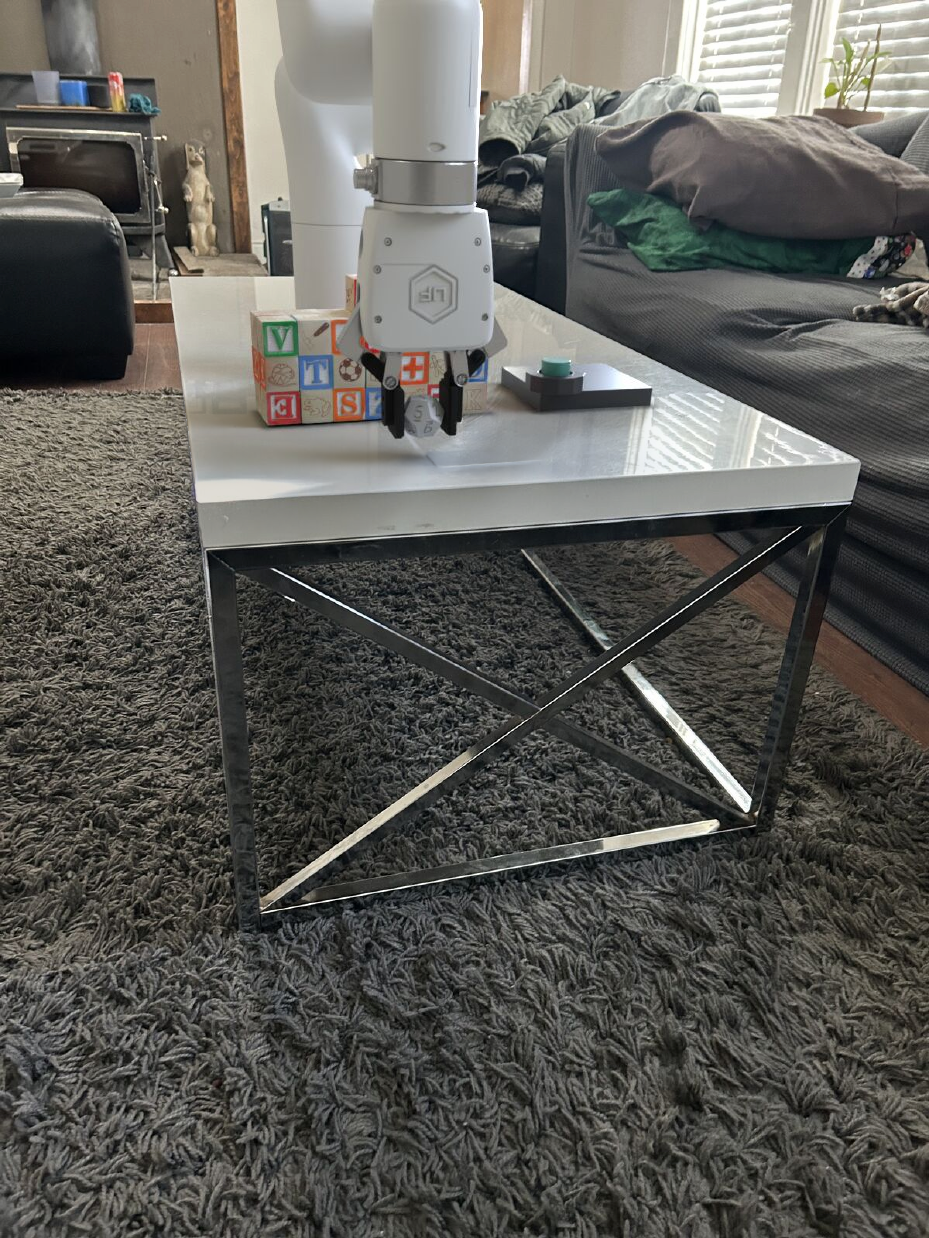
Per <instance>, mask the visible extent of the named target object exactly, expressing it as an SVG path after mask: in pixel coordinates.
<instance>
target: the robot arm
mask: <svg viewBox="0 0 929 1238" xmlns="http://www.w3.org/2000/svg"><path fill="white" fill-rule="evenodd" d="M275 2H276V10H277V18H278V19H277V20H278V28H279V35H280V42H281V43H280V44H281V49H282V56H281V58H280V59H279V61H278V63H277V65H276V69H275V72H274V80H273V81H274V99H275V105H276V112H277V115H278V122H279V126H280V133H281V137H282V143H283V148H284V155H285V162H286V171H287V181H288V194H289V212H290V213H289V214H290V225H291V228H290V229H291V245H292V246H291V247H292V265H293V285H294V303H295V310H296V309H316V310H317V309H345V308H346V288H345V275H354V274H357V284H356V306H355V308H354V310H353V312H352V314H351V315H350V317H349V319H348V321H347V322H346V324H345V326H344V328H343V329H342V331H341V333H340V335H339V336H338V338H337V340H336V342H335V346H336V348H337V349H338V351H339V352H340V353H341V354H343V355H345V356H347V357H348V358H350V359H352V360H353V361H355V362H357V363H359V364H360V365H362V366H364V367H365V368H366V369H367V370H368V371H369V372H370V373H371V374H372V375H373V376H374V377H375V378H376V379H377V380H378V381H379V382H380V383H381V419H380V420H381V423H382V424H381V425H383V427H387V430H388V431H389V433H390V434H391V435H392V436H393V438H394V439H395V440H402V439H403V438H404V437H405V429H404V425H405V392H404V390H403V389H402V388H401V386H400V380H399V374H400V368H401V362H402V356H403V352H419V351H443V356H444V364H445V371H446V372H445V373H444V378H441V381H439V403H440V405H441V407H442V408H443V410H444V415H443V419H442V423H441V425H440V427H439V428H440V429H441V430H442V431H443V432H444V433H445V434H446V435H447V436H449V437H454V436H456V435H457V427H458V425H457V424H458V423H461V422H462V420H463V414H462V411H463V386H466V385H467V384H468V382H469V378H470V377H471V376H472V375H473V374H474V373H475V372H476V371H477V370H478V369H479V367H480V366H481V365H482V364H483V363H484V362H485V360H487V359H488V358H489V359H491V358H492V357H494V356H496V355H497V354H499V352H501V351H503V350H504V349H506V347H508V339H507V337H506V335H505V333H504V331H503V329H502V327H501V325H500V324H499V321H498V320H497V318H496V316H495V295H494V293H495V292H494V290H495V289H494V267H493V251H492V239H491V229H490V222H489V216H488V210H487V209H482V208H479V207H476V206H477V203H476V202H477V186H478V157H479V155H478V154H479V132H480V131H479V129H480V127H479V126H480V102H481V80H482V79H481V75H482V53H483V8H482V4H481V2H480V0H275ZM364 155H365V156H366V155H367V156H368V155H373V157H372V158H370V163H368V166H364V167H363V168H362V166H361V165H360V163H359V161H358V160H357V157H358V156H364ZM361 336H362V337H364V339H365V341H366V342H367V343H368V344H369V345H370V346H371V347H373V348H374V349H377V350H379V356H378V357H377V356H376V355H375V354H374V353H372V352H371V351H370V350H368V349H366V348H365V347H363V346H362V345H360V344H359V340H360V338H361Z"/></svg>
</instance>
